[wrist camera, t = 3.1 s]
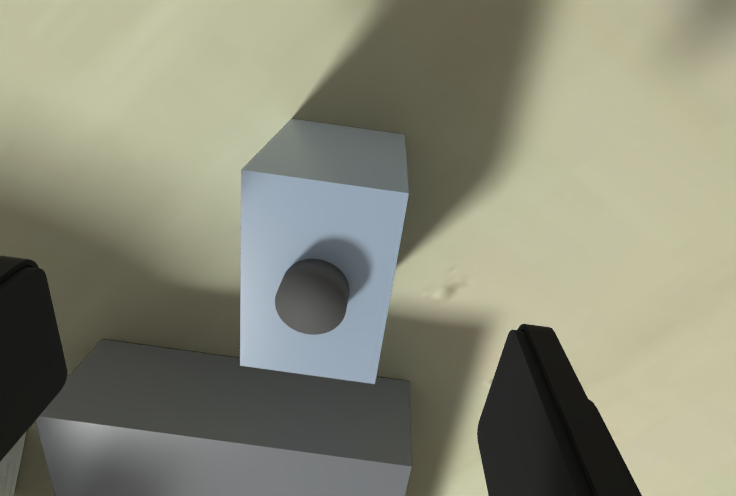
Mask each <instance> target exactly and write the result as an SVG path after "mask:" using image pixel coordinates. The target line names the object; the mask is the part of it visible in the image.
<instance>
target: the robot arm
mask: <svg viewBox="0 0 736 496" xmlns="http://www.w3.org/2000/svg"><path fill="white" fill-rule="evenodd" d="M66 379H67V368H66V363H65V359H64V354H63V350H62V345H61V341H60V336H59V332H58V327H57V323H56V318H55V314H54V309H53V305H52V300H51V296H50V291H49V287H48V282H47V278H46V274H45V272H44V271H43V270H42V269H40V268H39V267H38V265H37V264H36V263H35V262H34V261H32V260H29V259H21V258H13V257H6V256H0V462H1V460H2V459H3V458H4V457H5V456H6V454H7V453H8V452H9V451H10V450H11V449H12V447H13V446H14V445H15V444H16V443H17V442H18V440H19V439H20V438H21V437H22V436H23V434H24V433H25V432H26V431H27V430H28V429H29V427H30V426H31V425H32V424H33V423H34V421H35V420H36V419H37V418H38V417H39V416H40V414H41V413H42V412H43V411H44V410H45V409H46V407H47V406H48V405H49V404H50V403H51V401H52V400H53V399H54V398H55V397H56V396H57V394H58V393H59V392H60V391H61V389H62V388H63V386H64V384H65V382H66ZM477 436H478V444H479V449H480V454H481V459H482V464H483V469H484V474H485V479H486V484H487V489H488V494H489V496H642V495H641V493H640V491H639V489H638V487H637V486H636V484H635V482H634V480H633V478H632V476H631V474H630V472H629V470H628V468H627V466H626V464H625V462H624V460H623V458H622V456H621V454H620V452H619V450H618V448H617V446H616V444H615V442H614V440H613V439H612V437H611V435H610V433H609V431H608V429H607V427H606V425H605V423H604V421H603V419H602V417H601V415H600V413H599V411H598V409H597V408H596V406H595V405H594V403H593V402H592V401H590V400H589V399H588V398H587V396H586V394H585V392H584V390H583V388H582V386H581V384H580V382H579V380H578V378H577V376H576V374H575V372H574V370H573V368H572V366H571V364H570V362H569V360H568V358H567V356H566V354H565V352H564V350H563V348H562V346H561V344H560V342H559V340H558V338H557V336H556V334H555V332H554V331H553V329H552V328H550V327H543V326H535V325H528V324H522V325H520V327H519V328H518V330H511V331H510V332H509V334H508V337H507V340H506V343H505V346H504V349H503V352H502V355H501V358H500V361H499V364H498V367H497V370H496V373H495V376H494V379H493V382H492V384H491V387H490V390H489V393H488V396H487V399H486V402H485V405H484V408H483V411H482V414H481V417H480V420H479V424H478V433H477Z"/></svg>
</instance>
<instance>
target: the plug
mask: <svg viewBox="0 0 736 496" xmlns="http://www.w3.org/2000/svg"><path fill="white" fill-rule="evenodd" d="M408 196H409V186H408V172H407V158H406V143H405V135H403V134H396V133H389V132H382V131H375V130H368V129H361V128H354V127H347V126H340V125H333V124H326V123H319V122H312V121H305V120H298V119H291V120H290V121H289V122H288V123H287V124H286V125H285V126H284V127H283V128H282V129H281V130H280V131H279V132H278V133H277V134H276V135H275V136H274V137H273V138H272V139H271V140H270V141H269V142H268V143H267V144H266V145H265V146H264V147H263V148H262V149H261V150H260V151H259V152H258V153H257V154H256V155H255V156H254V157H253V158H252V159H251V160H250V161H249V162H248V164H247V165H246V166H245V167H244V168H243V169H242V170H241V293H240V366H246V367H253V368H261V369H268V370H275V371H283V372H290V373H297V374H305V375H312V376H319V377H327V378H334V379H341V380H349V381H356V382H363V383H370V384H375V381H376V375H377V370H378V364H379V359H380V353H381V347H382V342H383V336H384V331H385V325H386V319H387V314H388V308H389V303H390V297H391V291H392V286H393V280H394V275H395V269H396V263H397V258H398V252H399V247H400V241H401V235H402V230H403V224H404V219H405V213H406V207H407V202H408Z"/></svg>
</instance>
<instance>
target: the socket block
mask: <svg viewBox="0 0 736 496" xmlns="http://www.w3.org/2000/svg"><path fill="white" fill-rule="evenodd" d="M35 423H36V426H37V430H38V434H39V438H40V442H41V445H42V449H43V453H44V457H45V460H46V464H47V468H48V472H49V476H50V479H51V483H52V487H53V491H54V494H55V496H405V492H406V488H407V484H408V480H409V476H410V472H411V468H412V453H411V425H410V396H409V381H403V380H396V379H389V378H381V377H376V381H375V384H370V383H363V382H356V381H349V380H341V379H334V378H327V377H319V376H312V375H305V374H297V373H290V372H283V371H275V370H268V369H261V368H253V367H246V366H240V358H235V357H228V356H220V355H213V354H206V353H198V352H191V351H184V350H177V349H169V348H162V347H155V346H147V345H140V344H133V343H125V342H118V341H111V340H103V339H102V340H101V341H100V342H99V343H98V344H97V346H96V347H95V348H94V349H93V350H92V351H91V352H90V353H89V354H88V356H87V357H86V358H85V359H84V360H83V361H82V362H81V363H80V364H79V366H78V367H77V368H76V369H75V370H74V371H73V372H72V373H71V374H70V376H69V377H68V378H67V379H66V382H65V384H64V386H63V388H62V389H61V391H60V392H59V393H58V394H57V396H56V397H55V398H54V399H53V400H52V401H51V403H50V404H49V405H48V406H47V407H46V409H45V410H44V411H43V412H42V413H41V414H40V416H39V417H38V418H37V419H36V420H35Z"/></svg>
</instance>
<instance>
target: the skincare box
mask: <svg viewBox="0 0 736 496" xmlns="http://www.w3.org/2000/svg"><path fill="white" fill-rule="evenodd" d="M26 432H27V431H26ZM26 432H25V433H24V434H23V436H22V437H21V438H20V439H19V440H18V442H17V443H16V444H15V445H14V446H13V447H12V449H11V450H10V451H9V452H8V453H7V454H6V456H5V457H4V458H3V459H2V460H1V462H0V496H14V491H15V487H16V482H17V477H18V472H19V468H20V463H21V458H22V453H23V448H24V443H25V438H26Z"/></svg>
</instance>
